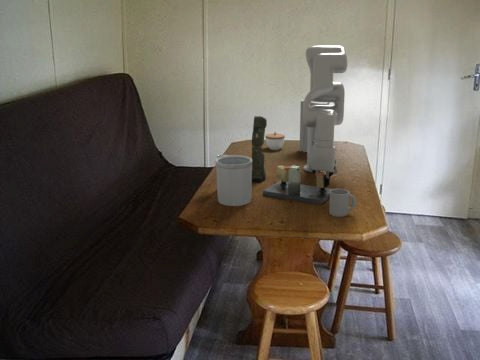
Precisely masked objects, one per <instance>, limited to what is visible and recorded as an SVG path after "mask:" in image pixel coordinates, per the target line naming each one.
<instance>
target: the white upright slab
mask: <svg viewBox="0 0 480 360" xmlns="http://www.w3.org/2000/svg"><path fill="white" fill-rule="evenodd" d="M304 100H305V99H301V100H300V111H299V112H300V113H299V114H300V117H299V119H300V121H299V152H301V151H303V152H302V153H305V152H307V142H308V127H307V126H305V125H304V122H303V103H304ZM313 105H330V103H323V102H313V101H311V103H310V106H313ZM310 106H309V107H310Z"/></svg>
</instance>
